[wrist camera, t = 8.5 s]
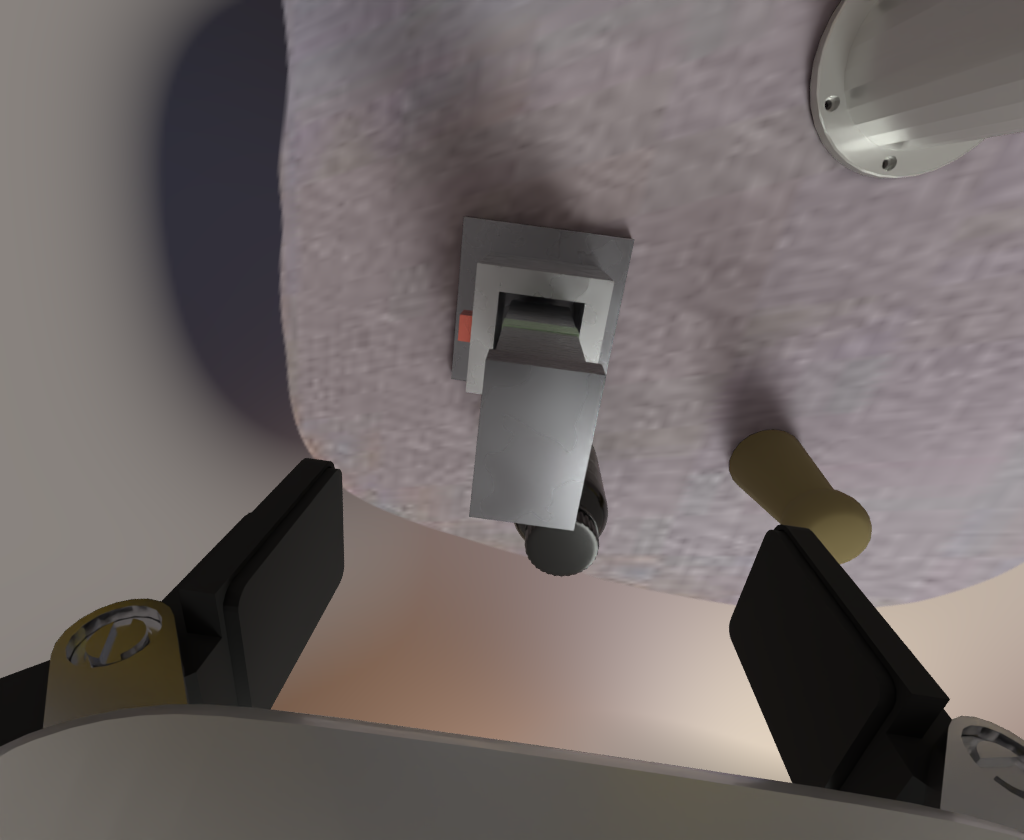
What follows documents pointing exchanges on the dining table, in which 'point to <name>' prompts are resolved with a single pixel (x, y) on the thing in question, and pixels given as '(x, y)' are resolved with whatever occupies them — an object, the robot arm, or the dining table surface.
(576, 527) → the supplement bottle
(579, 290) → the stand base
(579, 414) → the column
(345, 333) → the dining table surface
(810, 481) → the olive knobbed figure
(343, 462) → the dining table surface
